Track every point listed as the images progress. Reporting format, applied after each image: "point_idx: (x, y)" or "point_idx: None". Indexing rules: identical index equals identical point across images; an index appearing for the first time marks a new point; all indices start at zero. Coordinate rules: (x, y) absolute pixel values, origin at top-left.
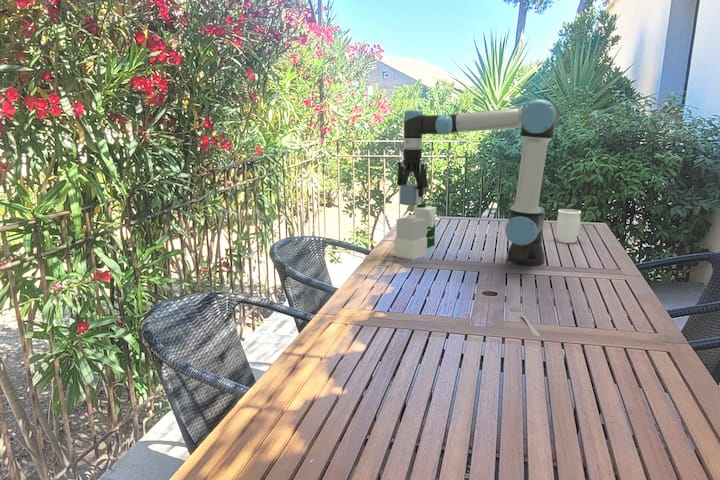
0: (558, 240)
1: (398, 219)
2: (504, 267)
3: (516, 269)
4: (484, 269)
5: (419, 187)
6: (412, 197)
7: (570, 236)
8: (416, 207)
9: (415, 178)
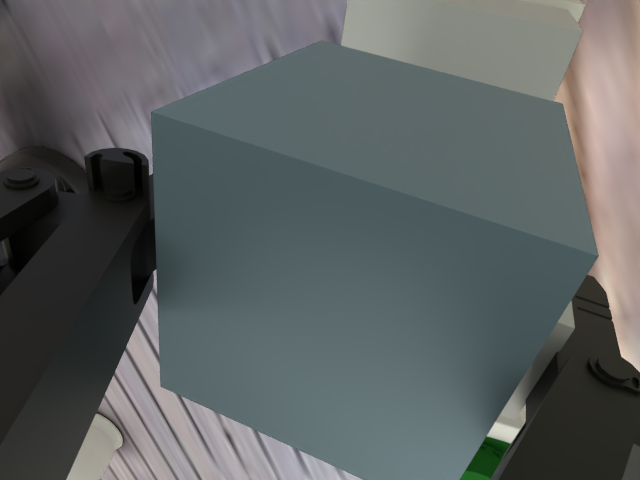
0: (112, 426)
1: (562, 48)
2: (51, 82)
3: (16, 78)
4: (77, 7)
5: (101, 195)
6: (278, 64)
7: None
8: (506, 441)
9: (46, 353)
